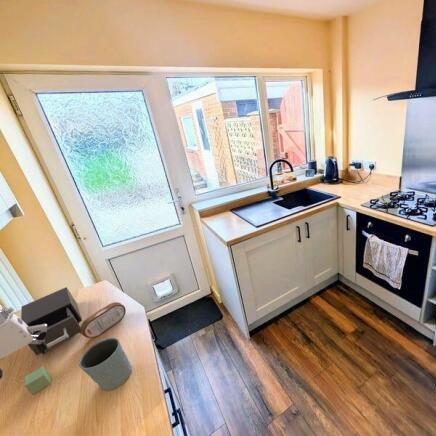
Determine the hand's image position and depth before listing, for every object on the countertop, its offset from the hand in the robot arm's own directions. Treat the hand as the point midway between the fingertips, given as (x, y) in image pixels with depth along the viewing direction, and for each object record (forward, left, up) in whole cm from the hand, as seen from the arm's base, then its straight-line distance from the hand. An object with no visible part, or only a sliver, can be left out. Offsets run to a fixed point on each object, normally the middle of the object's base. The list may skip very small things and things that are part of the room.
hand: (23, 363), depth 74 cm
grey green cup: (+22, -10, -11) cm, 26 cm away
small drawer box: (-5, +32, -11) cm, 34 cm away
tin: (+16, +16, -11) cm, 25 cm away
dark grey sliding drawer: (-1, +20, -10) cm, 22 cm away
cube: (0, 0, -11) cm, 11 cm away
